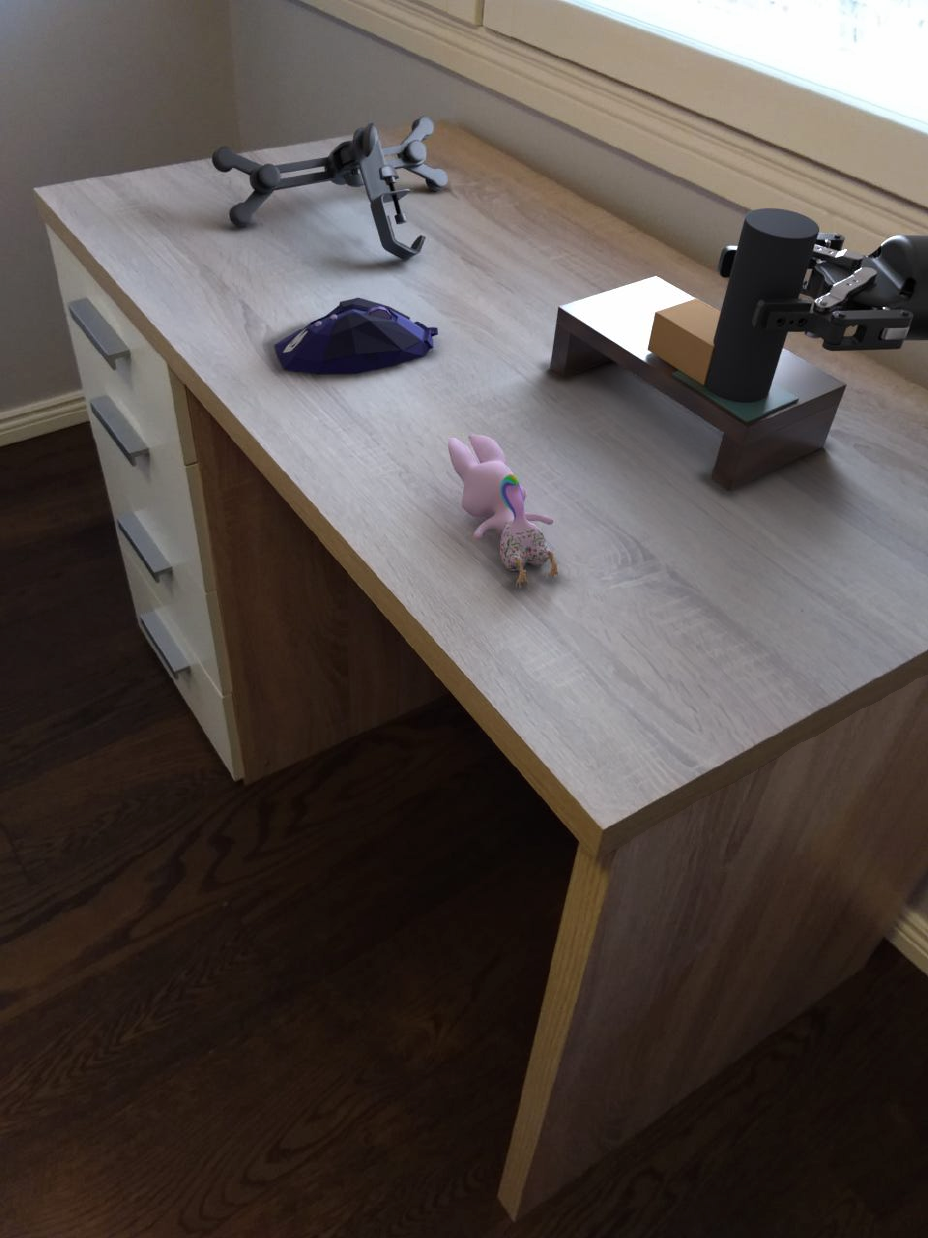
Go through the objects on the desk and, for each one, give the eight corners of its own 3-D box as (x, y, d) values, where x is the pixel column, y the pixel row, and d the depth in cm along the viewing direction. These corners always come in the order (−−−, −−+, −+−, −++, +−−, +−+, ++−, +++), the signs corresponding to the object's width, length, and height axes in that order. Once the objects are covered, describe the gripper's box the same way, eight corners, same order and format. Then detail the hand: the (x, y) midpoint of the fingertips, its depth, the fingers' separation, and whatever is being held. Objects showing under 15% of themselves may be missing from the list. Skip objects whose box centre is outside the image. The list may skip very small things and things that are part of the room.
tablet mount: (464, 261, 123) (426, 117, 119) (526, 229, 110) (486, 68, 107) (257, 308, 111) (208, 151, 108) (301, 279, 99) (247, 100, 95)
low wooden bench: (824, 446, 86) (848, 382, 82) (728, 491, 81) (748, 425, 76) (643, 334, 98) (656, 273, 94) (549, 367, 93) (558, 304, 89)
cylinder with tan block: (782, 390, 80) (835, 229, 71) (738, 409, 78) (786, 244, 69) (689, 334, 86) (726, 178, 77) (645, 350, 84) (678, 190, 75)
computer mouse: (267, 329, 95) (264, 288, 92) (421, 314, 98) (423, 275, 96) (286, 381, 88) (283, 339, 86) (449, 363, 92) (452, 323, 89)
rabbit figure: (573, 587, 73) (495, 446, 81) (591, 532, 69) (506, 387, 77) (493, 606, 71) (421, 459, 79) (506, 550, 67) (428, 400, 75)
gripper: (921, 200, 79) (720, 197, 77) (1013, 285, 69) (785, 283, 67) (887, 291, 84) (698, 290, 82) (968, 382, 74) (755, 384, 72)
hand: (737, 287), depth 75 cm, fingers open, 8 cm apart
